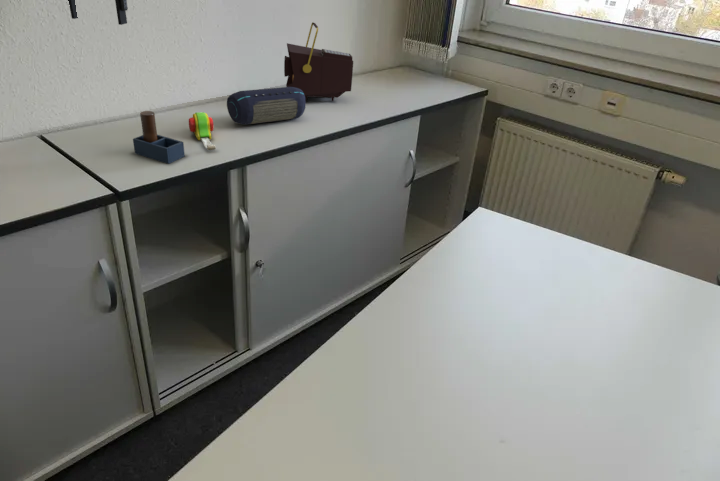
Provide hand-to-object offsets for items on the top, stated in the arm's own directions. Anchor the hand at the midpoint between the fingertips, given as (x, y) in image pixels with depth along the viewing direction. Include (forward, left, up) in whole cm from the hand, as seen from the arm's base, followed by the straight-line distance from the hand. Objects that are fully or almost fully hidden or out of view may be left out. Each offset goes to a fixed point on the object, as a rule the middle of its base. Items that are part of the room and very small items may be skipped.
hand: (99, 21), depth 143 cm
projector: (+46, +51, -29) cm, 74 cm away
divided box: (+22, -15, -29) cm, 39 cm away
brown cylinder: (+20, -14, -28) cm, 37 cm away
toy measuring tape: (+28, -1, -29) cm, 40 cm away
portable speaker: (+39, +21, -29) cm, 53 cm away
